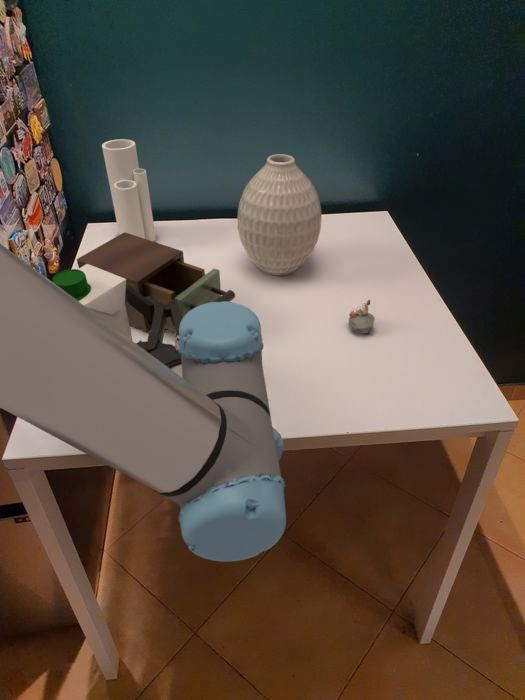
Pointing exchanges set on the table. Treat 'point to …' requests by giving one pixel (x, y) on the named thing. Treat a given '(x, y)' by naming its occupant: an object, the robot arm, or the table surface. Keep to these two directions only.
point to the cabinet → (132, 265)
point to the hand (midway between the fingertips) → (86, 312)
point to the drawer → (185, 288)
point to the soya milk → (98, 294)
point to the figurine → (361, 319)
